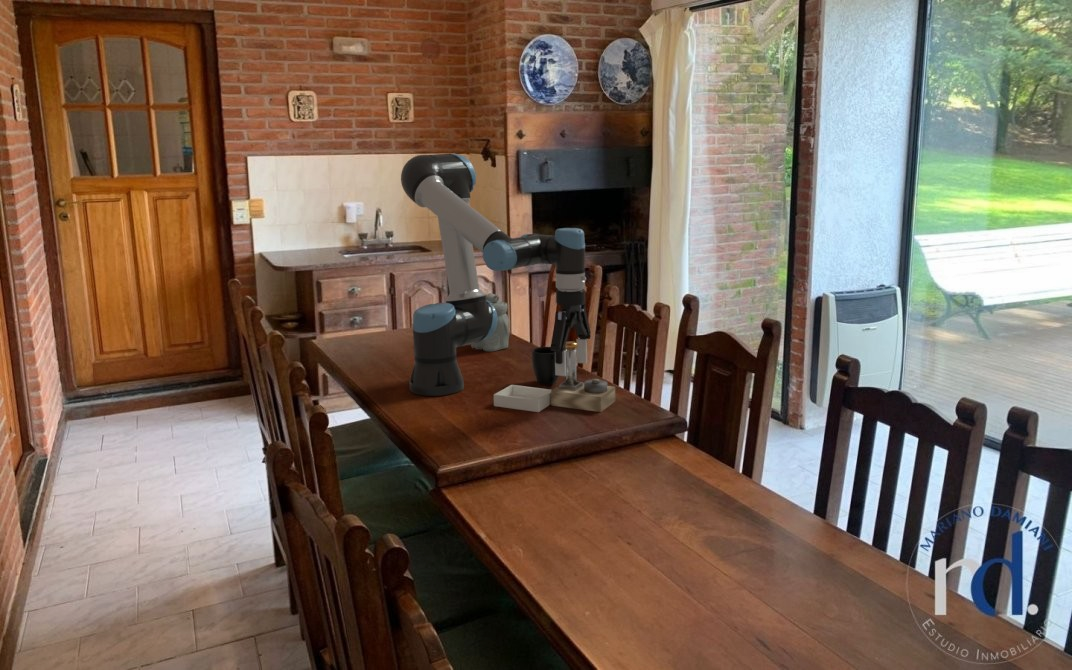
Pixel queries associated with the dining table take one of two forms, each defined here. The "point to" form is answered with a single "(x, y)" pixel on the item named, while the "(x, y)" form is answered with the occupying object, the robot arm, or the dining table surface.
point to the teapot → (501, 332)
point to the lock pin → (571, 362)
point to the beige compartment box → (584, 395)
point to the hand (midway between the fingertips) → (571, 369)
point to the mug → (544, 365)
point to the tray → (523, 398)
